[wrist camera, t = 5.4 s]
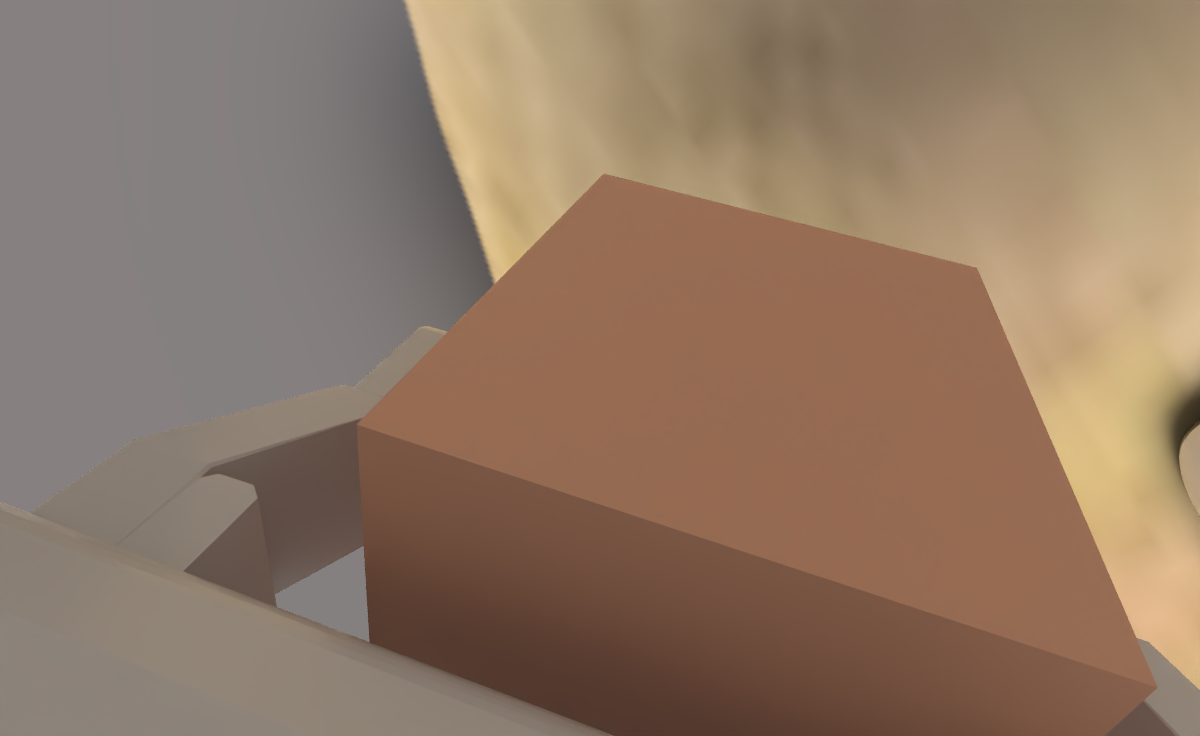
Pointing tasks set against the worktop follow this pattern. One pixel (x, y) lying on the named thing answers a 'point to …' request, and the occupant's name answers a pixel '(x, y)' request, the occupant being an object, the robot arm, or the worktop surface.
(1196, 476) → the spread jar
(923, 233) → the worktop surface
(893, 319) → the block
